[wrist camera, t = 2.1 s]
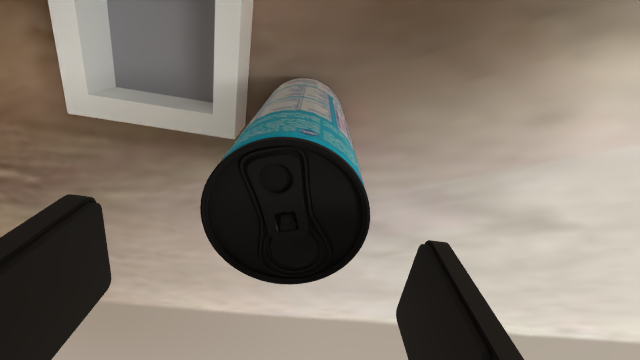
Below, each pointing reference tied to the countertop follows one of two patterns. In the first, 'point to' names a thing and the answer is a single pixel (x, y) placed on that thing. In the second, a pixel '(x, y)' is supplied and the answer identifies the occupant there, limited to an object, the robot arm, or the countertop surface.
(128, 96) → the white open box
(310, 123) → the beverage can
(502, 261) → the countertop surface
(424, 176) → the countertop surface
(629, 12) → the countertop surface
